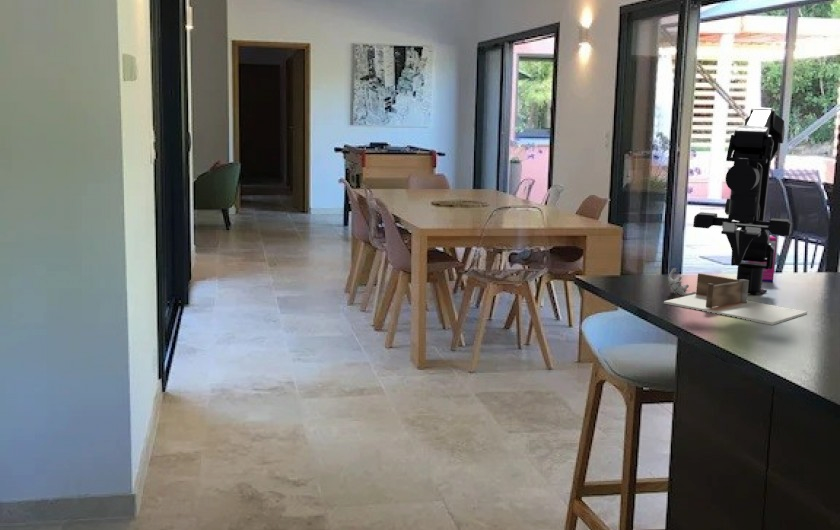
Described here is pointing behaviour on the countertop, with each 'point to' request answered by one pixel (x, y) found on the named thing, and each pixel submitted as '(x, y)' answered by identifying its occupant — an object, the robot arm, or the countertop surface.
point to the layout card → (740, 309)
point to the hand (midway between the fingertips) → (737, 264)
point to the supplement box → (767, 273)
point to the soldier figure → (678, 285)
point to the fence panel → (723, 294)
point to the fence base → (706, 279)
